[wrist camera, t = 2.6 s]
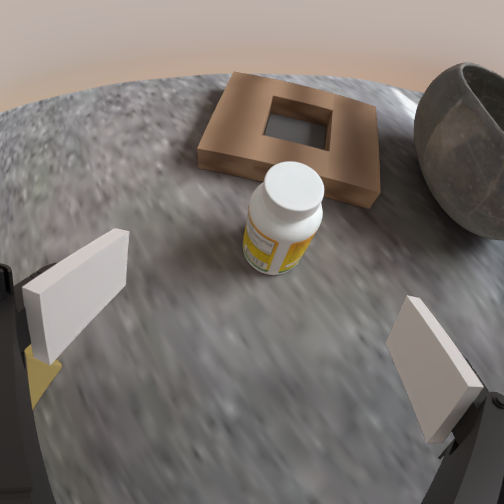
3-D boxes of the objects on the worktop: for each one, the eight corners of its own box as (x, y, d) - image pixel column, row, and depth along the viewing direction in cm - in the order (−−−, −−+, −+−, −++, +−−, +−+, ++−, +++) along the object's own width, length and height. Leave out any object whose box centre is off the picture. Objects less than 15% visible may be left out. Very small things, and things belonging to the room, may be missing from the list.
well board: (367, 123, 38) (375, 106, 35) (369, 209, 32) (380, 193, 29) (232, 89, 38) (233, 71, 36) (198, 168, 32) (197, 148, 30)
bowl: (484, 151, 40) (533, 88, 26) (523, 272, 31) (602, 217, 18) (377, 119, 39) (419, 29, 25) (407, 259, 30) (501, 170, 17)
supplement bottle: (239, 273, 28) (248, 214, 19) (244, 219, 30) (254, 148, 22) (301, 279, 28) (336, 225, 20) (302, 225, 30) (331, 159, 22)
